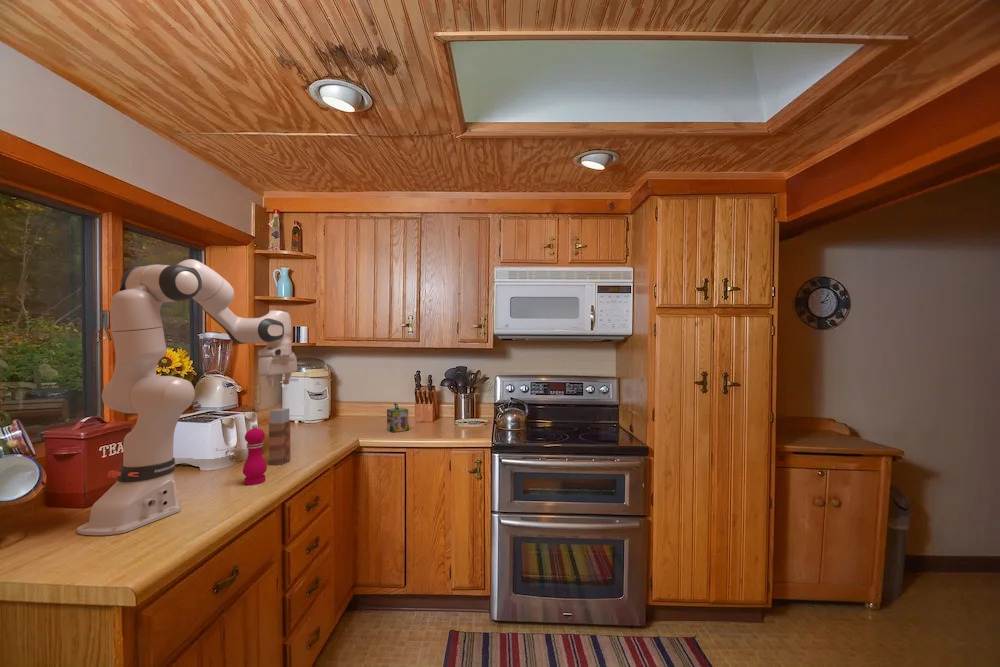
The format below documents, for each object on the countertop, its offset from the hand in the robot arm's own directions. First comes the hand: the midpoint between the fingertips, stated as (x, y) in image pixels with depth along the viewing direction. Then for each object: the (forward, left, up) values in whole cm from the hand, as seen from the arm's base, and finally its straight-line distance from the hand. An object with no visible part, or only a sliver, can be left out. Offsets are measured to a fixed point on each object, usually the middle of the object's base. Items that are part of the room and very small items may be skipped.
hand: (279, 385), depth 169 cm
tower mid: (0, 0, -26) cm, 26 cm away
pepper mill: (-22, -5, -31) cm, 39 cm away
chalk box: (+63, -27, -31) cm, 75 cm away
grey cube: (0, 0, -15) cm, 15 cm away
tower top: (0, 0, -20) cm, 20 cm away
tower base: (0, 0, -31) cm, 31 cm away
